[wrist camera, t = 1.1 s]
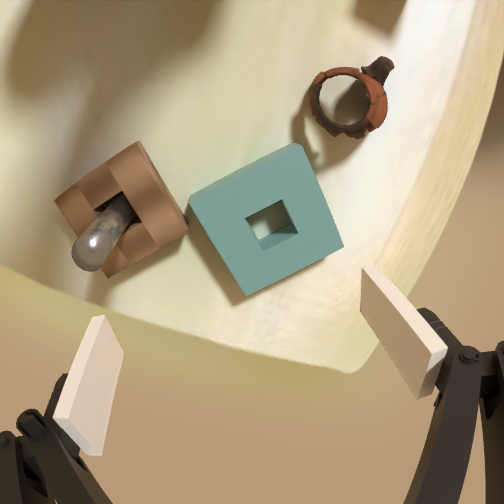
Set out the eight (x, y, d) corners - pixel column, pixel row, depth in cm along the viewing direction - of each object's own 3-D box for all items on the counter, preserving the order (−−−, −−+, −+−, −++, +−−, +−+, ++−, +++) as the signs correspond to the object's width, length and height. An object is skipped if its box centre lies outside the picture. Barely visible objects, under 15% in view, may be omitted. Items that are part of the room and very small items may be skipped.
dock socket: (190, 195, 38) (188, 203, 35) (293, 142, 37) (301, 145, 34) (243, 282, 44) (245, 296, 41) (334, 236, 43) (344, 246, 40)
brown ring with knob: (362, 151, 39) (356, 157, 32) (304, 109, 40) (286, 107, 33) (412, 81, 33) (418, 72, 26) (351, 40, 34) (342, 23, 27)
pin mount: (65, 192, 36) (54, 200, 33) (139, 140, 35) (132, 143, 32) (114, 265, 41) (108, 278, 38) (188, 223, 40) (187, 233, 37)
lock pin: (107, 202, 37) (65, 248, 25) (127, 189, 37) (90, 231, 24) (121, 223, 39) (85, 277, 26) (141, 211, 38) (111, 261, 26)
